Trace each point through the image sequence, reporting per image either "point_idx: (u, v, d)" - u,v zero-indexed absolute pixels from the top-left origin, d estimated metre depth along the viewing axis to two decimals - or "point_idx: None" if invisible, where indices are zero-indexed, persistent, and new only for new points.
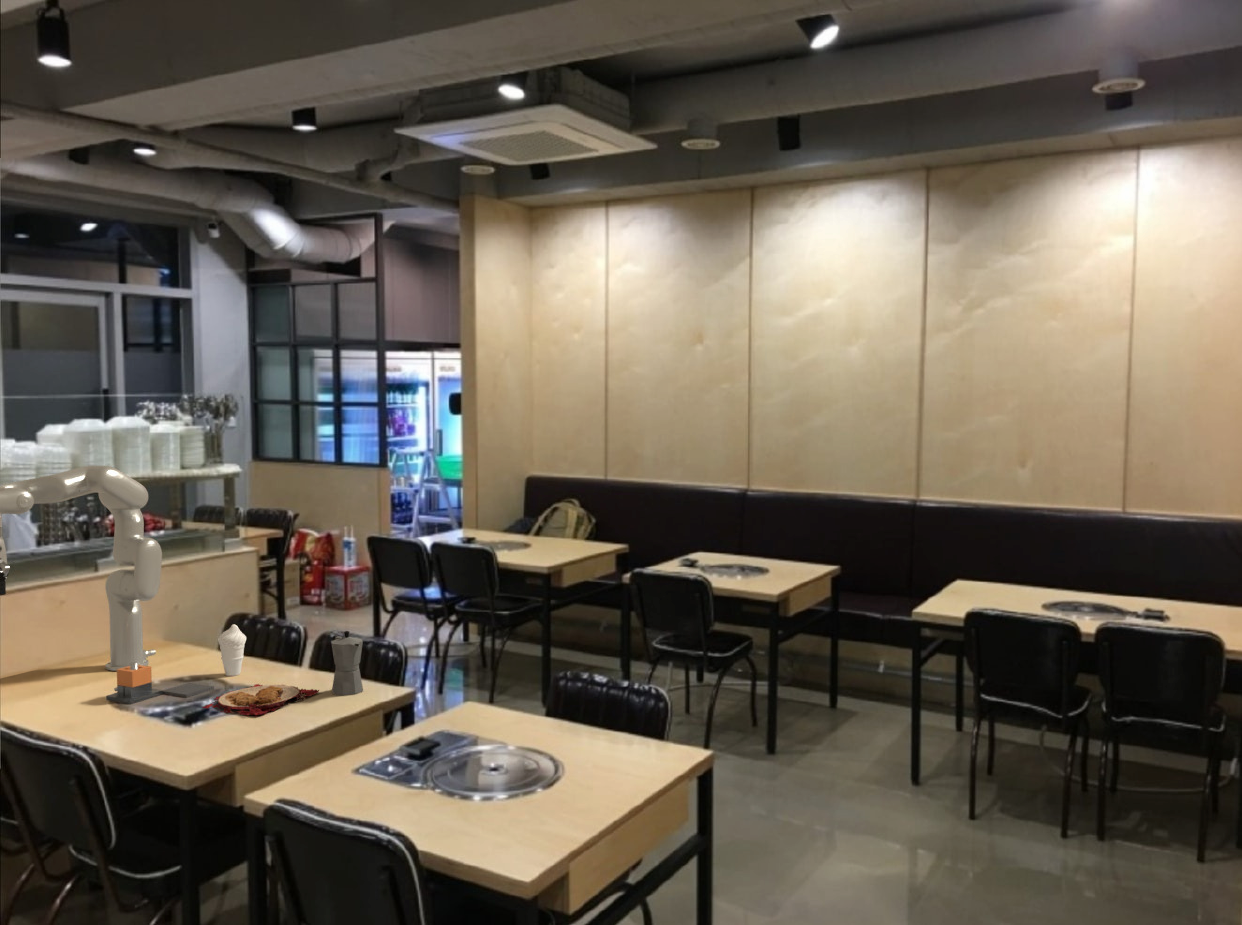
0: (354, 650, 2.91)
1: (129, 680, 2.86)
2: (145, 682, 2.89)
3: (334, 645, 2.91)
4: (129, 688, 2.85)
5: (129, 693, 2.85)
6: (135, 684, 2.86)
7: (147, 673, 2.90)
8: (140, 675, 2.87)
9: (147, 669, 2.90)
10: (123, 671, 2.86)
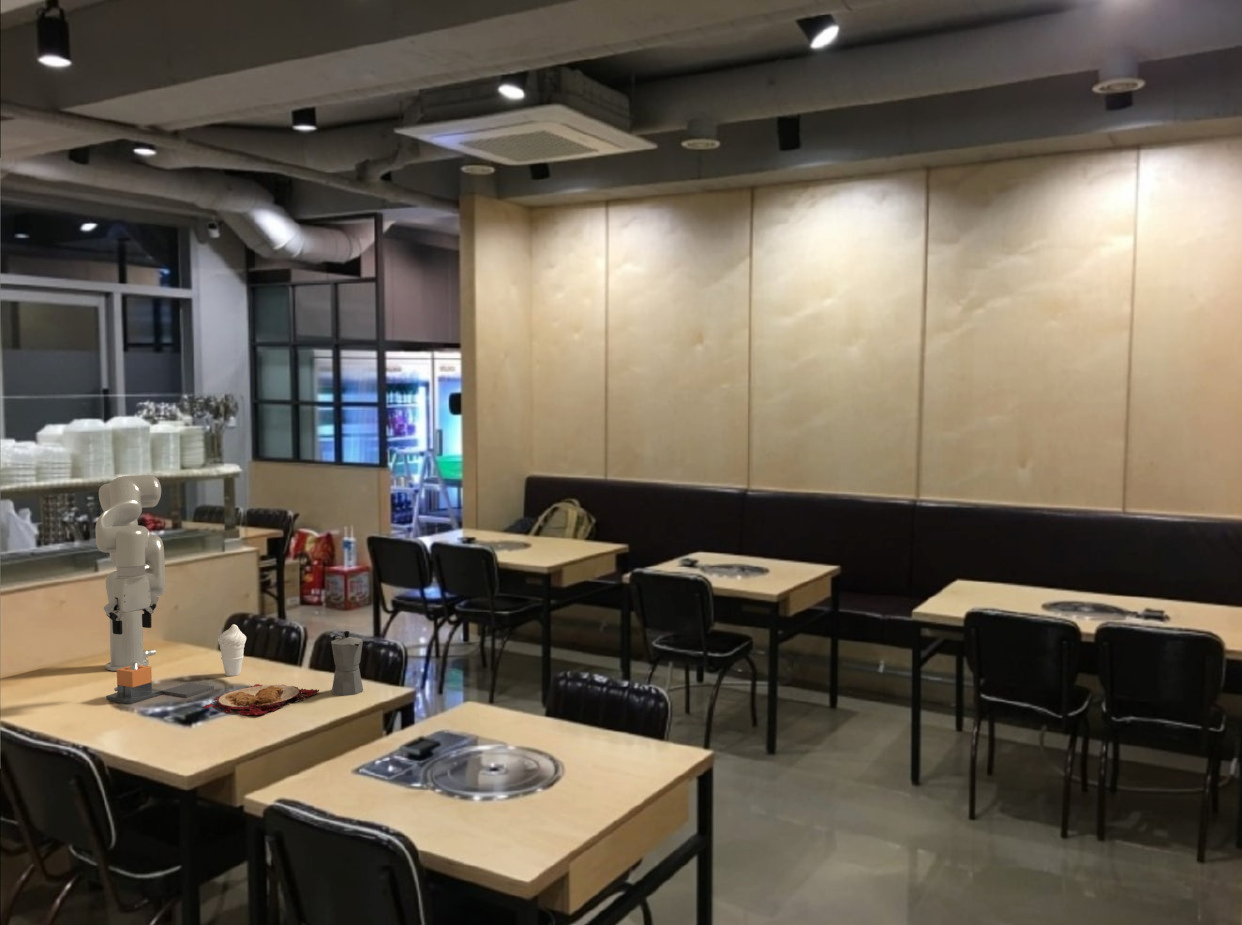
0: (354, 650, 2.91)
1: (129, 680, 2.86)
2: (145, 682, 2.89)
3: (334, 645, 2.91)
4: (129, 688, 2.85)
5: (129, 693, 2.85)
6: (135, 684, 2.86)
7: (147, 673, 2.90)
8: (140, 675, 2.87)
9: (147, 669, 2.90)
10: (123, 671, 2.86)
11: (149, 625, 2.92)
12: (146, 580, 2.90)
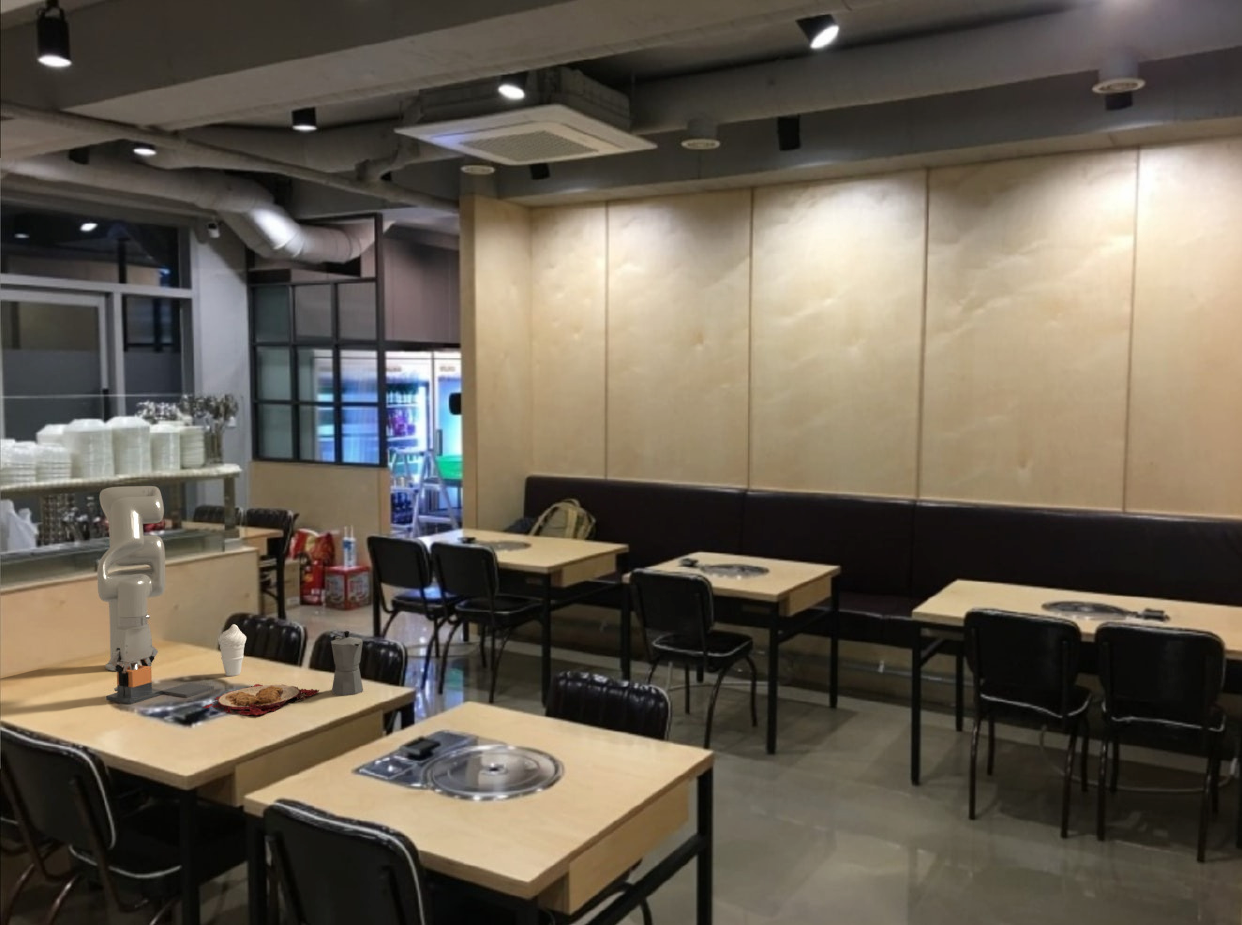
0: (354, 650, 2.91)
1: (129, 680, 2.86)
2: (145, 682, 2.89)
3: (334, 645, 2.91)
4: (129, 688, 2.85)
5: (129, 693, 2.85)
6: (135, 684, 2.86)
7: (147, 673, 2.90)
8: (140, 675, 2.87)
9: (147, 669, 2.90)
10: None
11: None
12: (148, 629, 2.91)
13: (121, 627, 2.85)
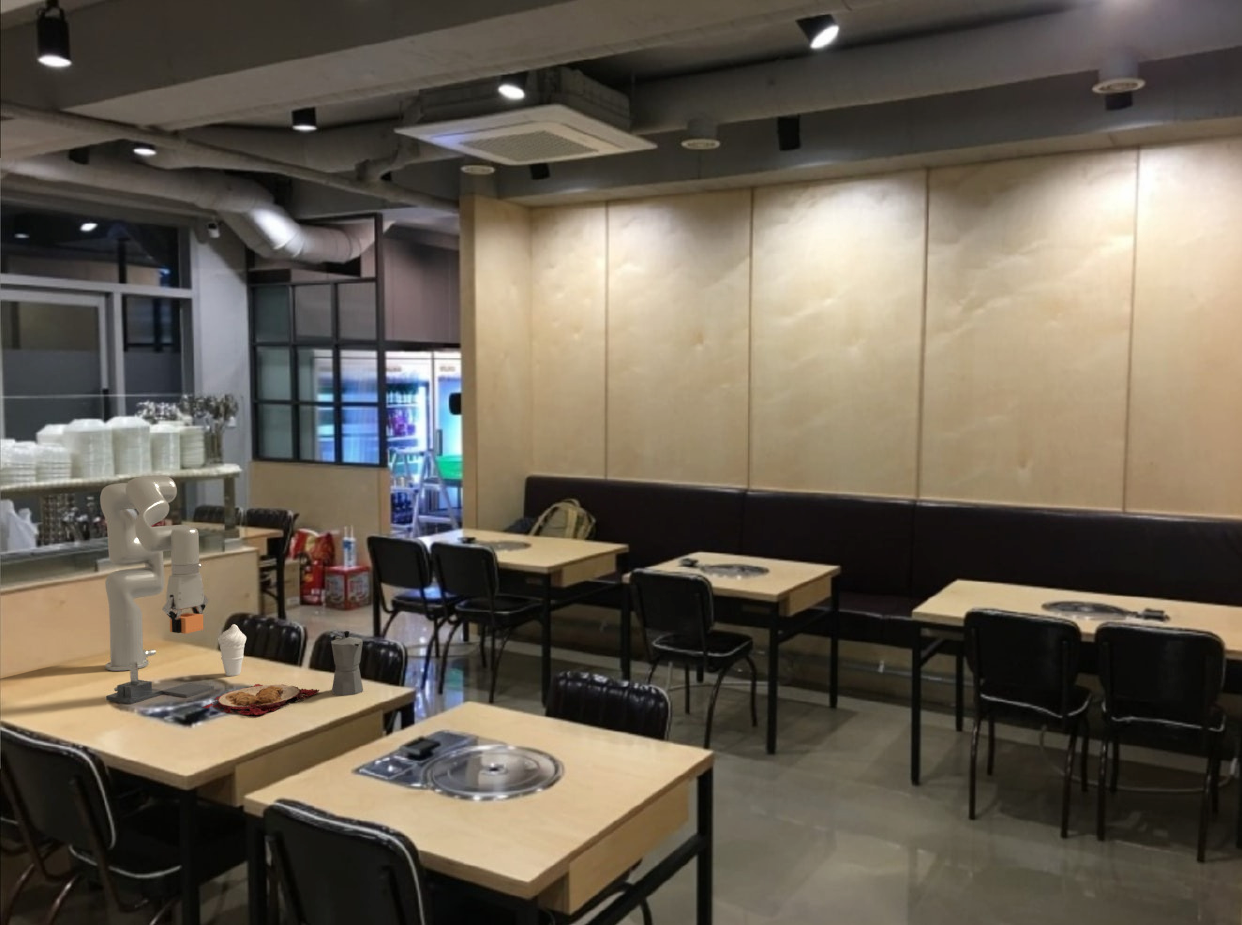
0: (354, 650, 2.91)
1: (182, 626, 2.91)
2: (197, 629, 2.95)
3: (334, 645, 2.91)
4: (129, 688, 2.85)
5: (129, 693, 2.85)
6: (188, 630, 2.91)
7: (199, 620, 2.95)
8: (193, 622, 2.93)
9: (199, 616, 2.95)
10: None
11: None
12: (200, 578, 2.96)
13: (174, 574, 2.91)
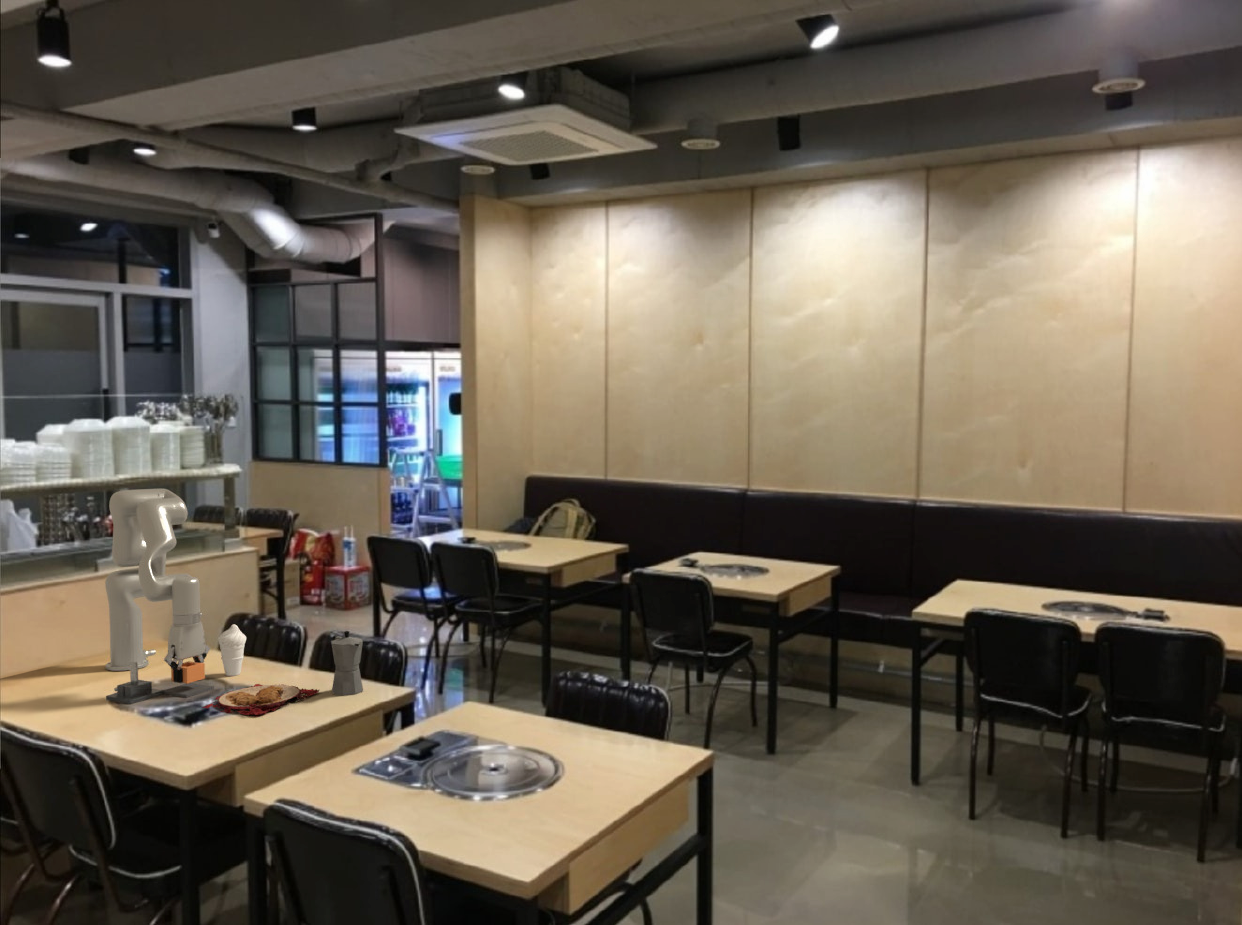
0: (354, 650, 2.91)
1: (183, 676, 2.92)
2: (199, 678, 2.95)
3: (334, 645, 2.91)
4: (129, 688, 2.85)
5: (129, 693, 2.85)
6: (189, 680, 2.92)
7: (200, 670, 2.96)
8: (194, 671, 2.94)
9: (200, 666, 2.96)
10: None
11: None
12: (201, 627, 2.97)
13: (176, 624, 2.91)
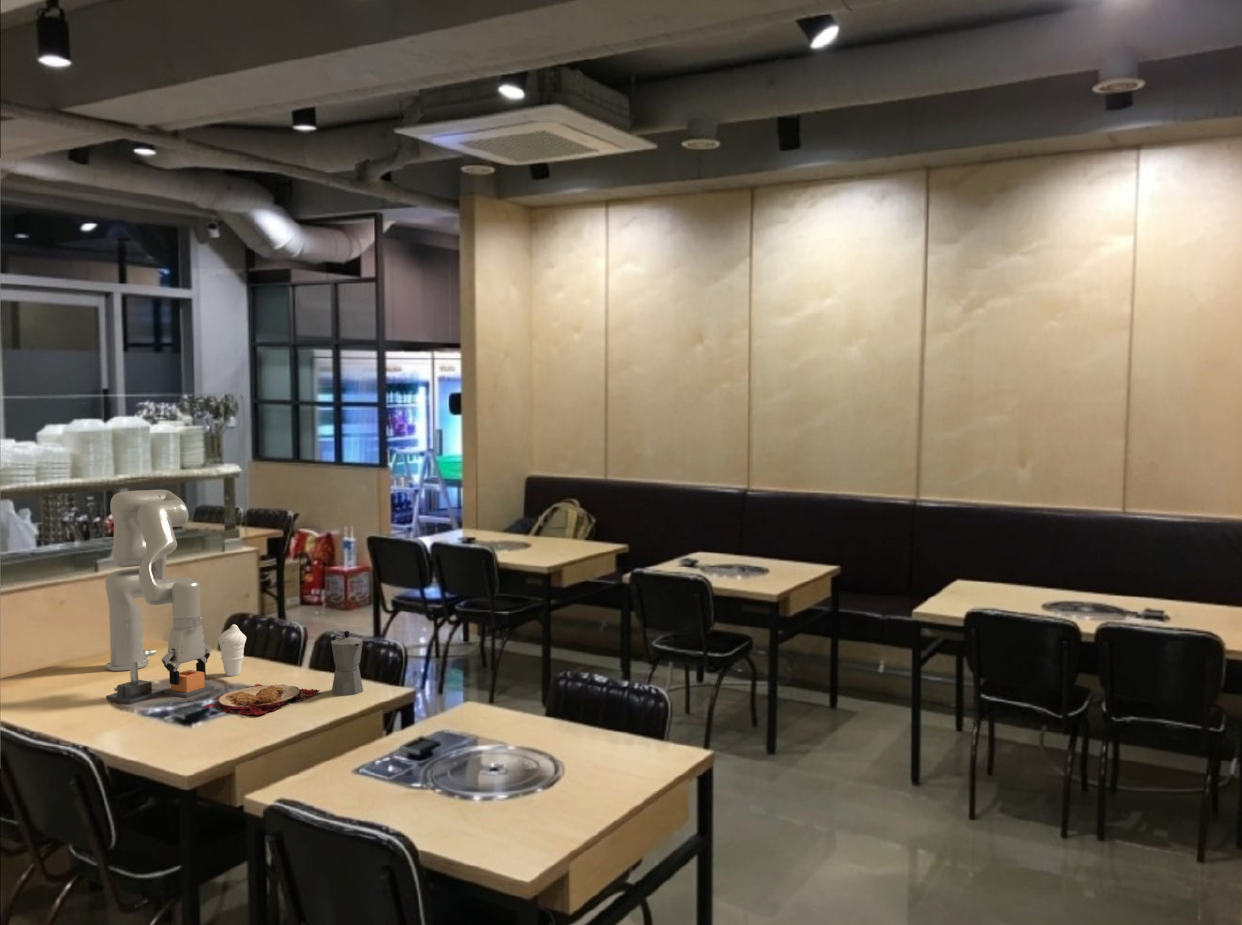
0: (354, 650, 2.91)
1: (183, 685, 2.92)
2: (198, 687, 2.95)
3: (334, 645, 2.91)
4: (129, 688, 2.85)
5: (129, 693, 2.85)
6: (189, 689, 2.92)
7: (200, 678, 2.96)
8: (194, 680, 2.94)
9: (200, 674, 2.96)
10: None
11: None
12: (201, 630, 2.97)
13: (176, 628, 2.92)
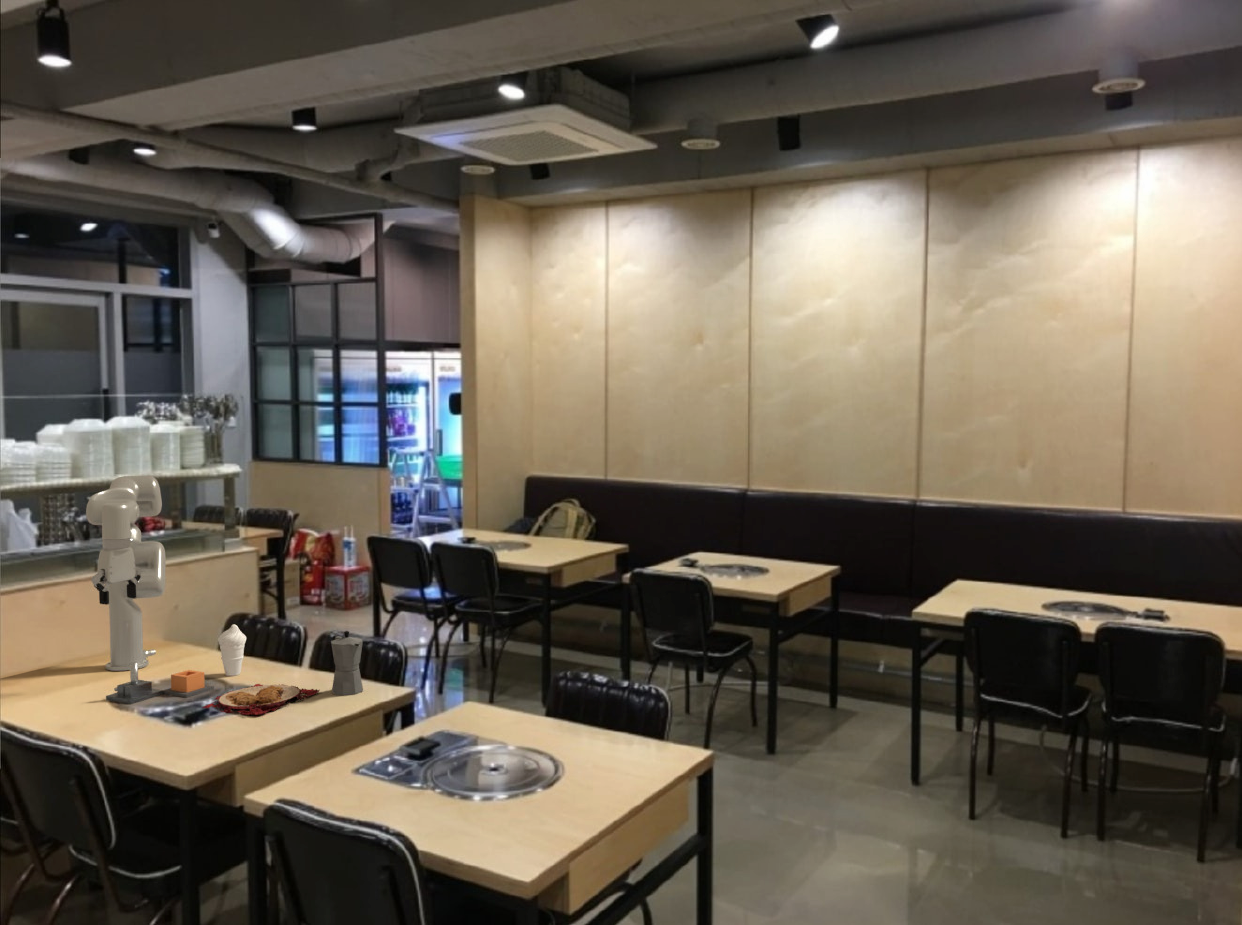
0: (354, 650, 2.91)
1: (183, 685, 2.92)
2: (198, 687, 2.95)
3: (334, 645, 2.91)
4: (129, 688, 2.85)
5: (129, 693, 2.85)
6: (189, 689, 2.92)
7: (200, 678, 2.96)
8: (194, 680, 2.94)
9: (200, 674, 2.96)
10: (177, 676, 2.93)
11: (134, 595, 3.03)
12: (131, 552, 3.00)
13: (105, 549, 2.95)
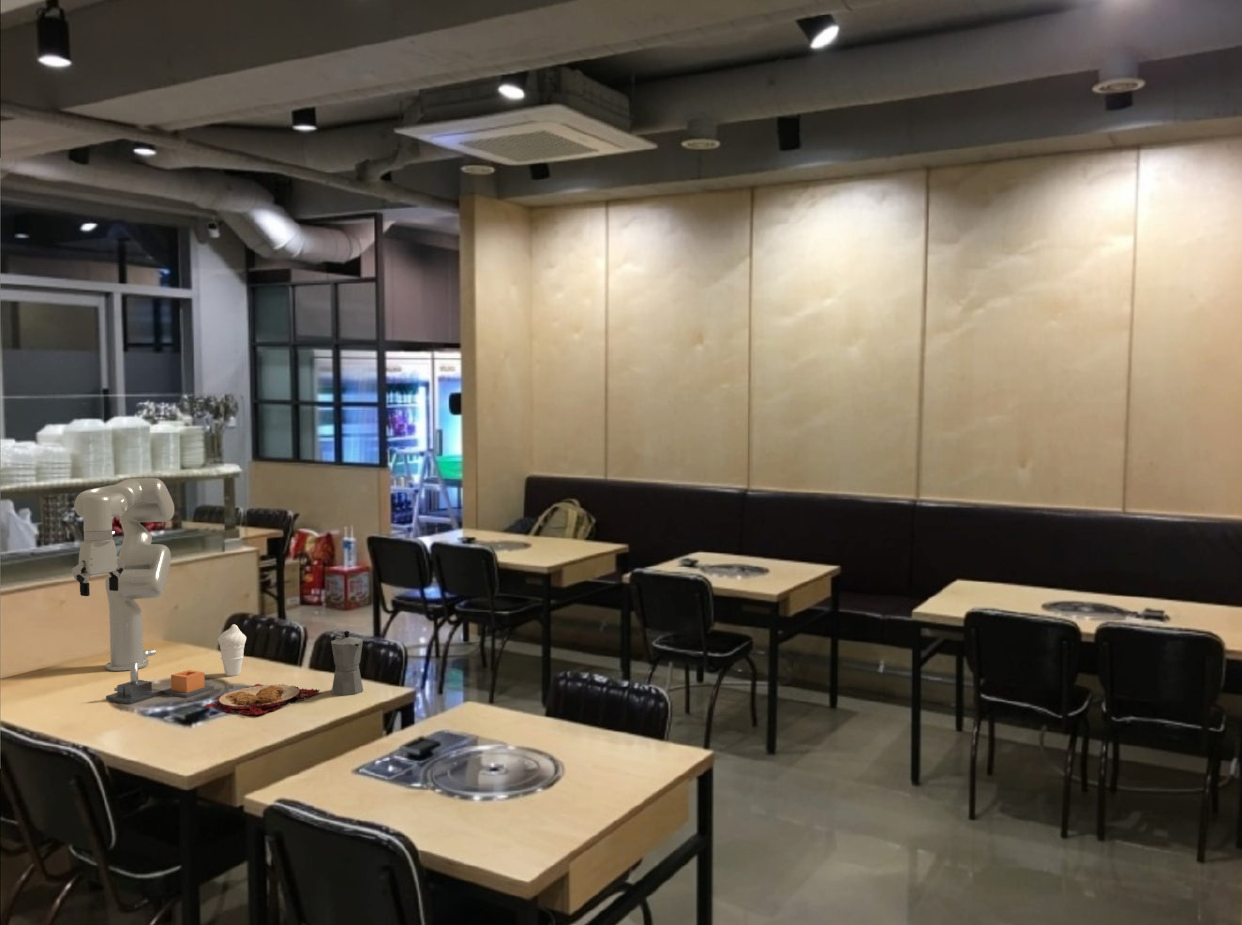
0: (354, 650, 2.91)
1: (183, 685, 2.92)
2: (198, 687, 2.95)
3: (334, 645, 2.91)
4: (129, 688, 2.85)
5: (129, 693, 2.85)
6: (189, 689, 2.92)
7: (200, 678, 2.96)
8: (194, 680, 2.94)
9: (200, 674, 2.96)
10: (177, 676, 2.93)
11: (116, 588, 3.03)
12: (113, 544, 3.01)
13: (86, 541, 2.96)
